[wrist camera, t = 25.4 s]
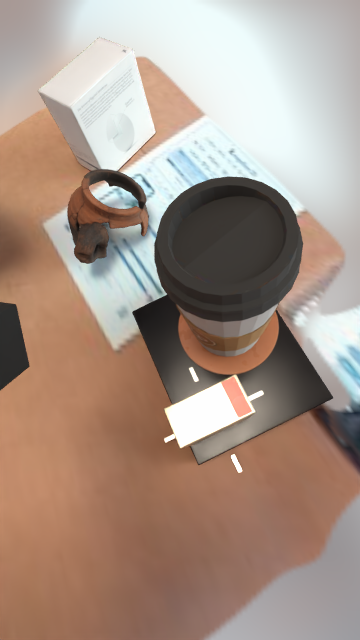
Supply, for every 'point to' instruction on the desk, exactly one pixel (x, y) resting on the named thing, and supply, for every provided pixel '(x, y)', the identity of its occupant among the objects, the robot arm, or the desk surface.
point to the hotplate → (259, 383)
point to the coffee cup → (228, 259)
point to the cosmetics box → (100, 105)
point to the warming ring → (230, 363)
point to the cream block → (209, 412)
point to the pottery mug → (102, 214)
